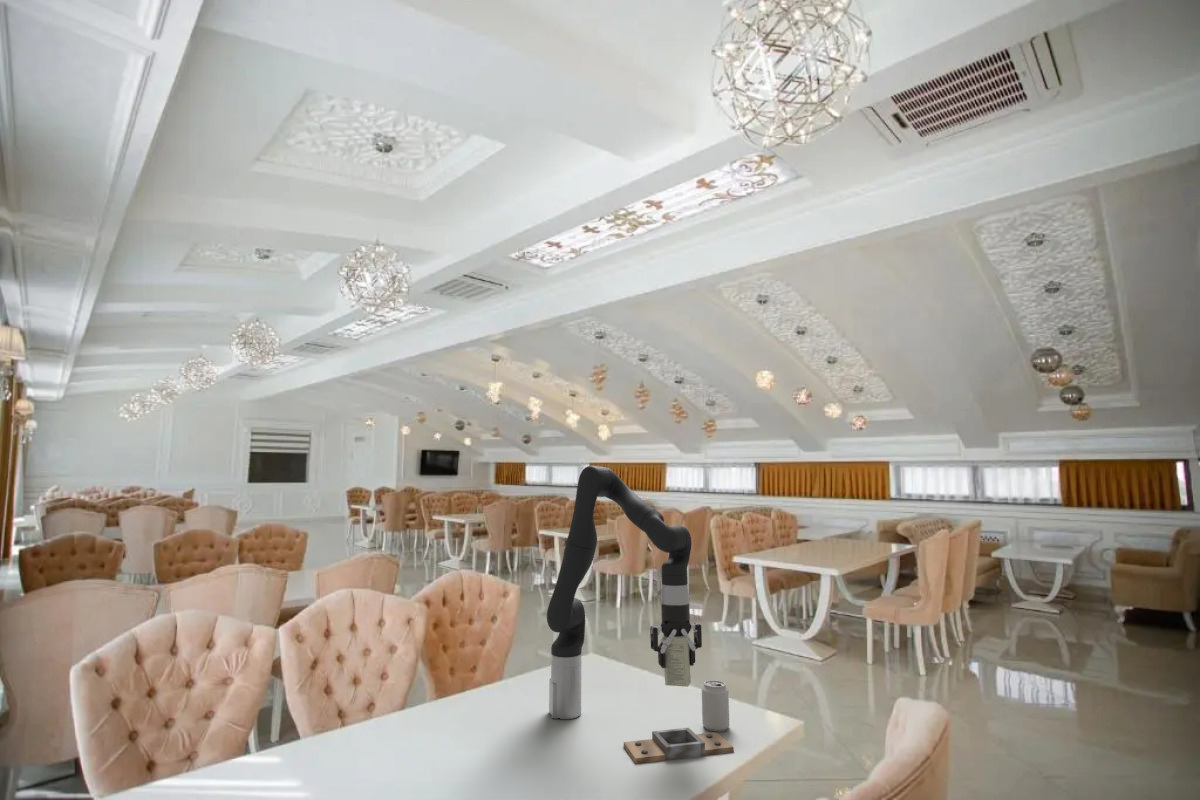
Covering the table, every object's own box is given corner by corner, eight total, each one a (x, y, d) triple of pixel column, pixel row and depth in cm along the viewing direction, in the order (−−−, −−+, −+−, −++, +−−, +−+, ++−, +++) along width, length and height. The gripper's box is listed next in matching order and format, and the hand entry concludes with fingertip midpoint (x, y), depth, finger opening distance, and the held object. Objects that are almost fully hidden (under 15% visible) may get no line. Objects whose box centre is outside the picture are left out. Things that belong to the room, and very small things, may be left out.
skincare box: (691, 682, 158) (689, 634, 160) (688, 687, 153) (686, 637, 156) (667, 680, 160) (666, 632, 162) (663, 685, 156) (662, 636, 158)
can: (729, 733, 164) (728, 687, 166) (702, 731, 165) (701, 685, 167) (729, 723, 171) (728, 679, 173) (703, 721, 173) (701, 677, 175)
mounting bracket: (635, 764, 146) (635, 750, 146) (623, 746, 155) (623, 734, 156) (734, 752, 152) (733, 739, 153) (716, 736, 162) (715, 724, 163)
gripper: (694, 598, 165) (696, 660, 163) (645, 600, 162) (646, 664, 159) (705, 602, 158) (708, 668, 156) (655, 605, 155) (656, 672, 152)
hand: (676, 666), depth 157 cm, fingers closed on skincare box, 7 cm apart
